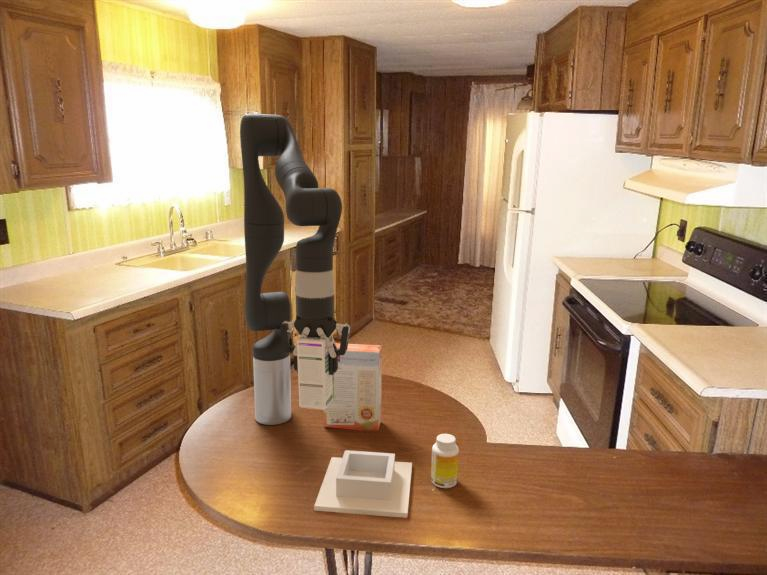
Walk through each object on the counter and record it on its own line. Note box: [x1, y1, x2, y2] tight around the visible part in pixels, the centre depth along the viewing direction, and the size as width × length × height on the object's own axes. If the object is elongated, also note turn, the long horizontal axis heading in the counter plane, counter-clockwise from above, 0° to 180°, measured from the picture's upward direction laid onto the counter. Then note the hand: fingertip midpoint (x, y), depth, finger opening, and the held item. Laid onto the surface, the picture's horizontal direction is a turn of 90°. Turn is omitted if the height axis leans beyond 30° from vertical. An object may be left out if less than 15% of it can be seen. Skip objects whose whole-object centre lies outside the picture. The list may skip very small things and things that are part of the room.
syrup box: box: [296, 333, 334, 411], centre depth 113 cm, size 6×6×14 cm
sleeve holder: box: [313, 450, 413, 519], centre depth 116 cm, size 18×18×5 cm
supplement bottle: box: [430, 433, 460, 489], centre depth 118 cm, size 6×6×10 cm
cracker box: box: [323, 342, 383, 432], centre depth 141 cm, size 14×6×21 cm, turn 83°
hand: (316, 372), depth 113 cm, fingers closed on syrup box, 6 cm apart
